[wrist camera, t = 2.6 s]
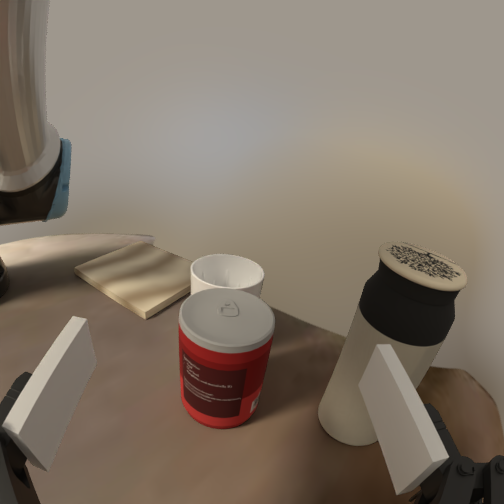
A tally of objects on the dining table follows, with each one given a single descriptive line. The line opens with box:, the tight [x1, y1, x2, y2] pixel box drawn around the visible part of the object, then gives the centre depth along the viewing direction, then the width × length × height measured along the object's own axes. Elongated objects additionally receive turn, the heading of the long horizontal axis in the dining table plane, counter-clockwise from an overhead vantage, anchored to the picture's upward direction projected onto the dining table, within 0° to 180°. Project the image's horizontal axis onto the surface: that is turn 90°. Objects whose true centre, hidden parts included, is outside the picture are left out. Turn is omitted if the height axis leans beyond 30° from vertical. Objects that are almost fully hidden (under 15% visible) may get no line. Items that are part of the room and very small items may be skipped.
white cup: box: [190, 254, 265, 298], centre depth 35 cm, size 8×8×10 cm
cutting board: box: [74, 241, 193, 319], centre depth 48 cm, size 18×16×1 cm
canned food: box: [179, 288, 275, 429], centre depth 26 cm, size 8×8×11 cm
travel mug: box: [318, 242, 468, 446], centre depth 24 cm, size 8×8×18 cm
